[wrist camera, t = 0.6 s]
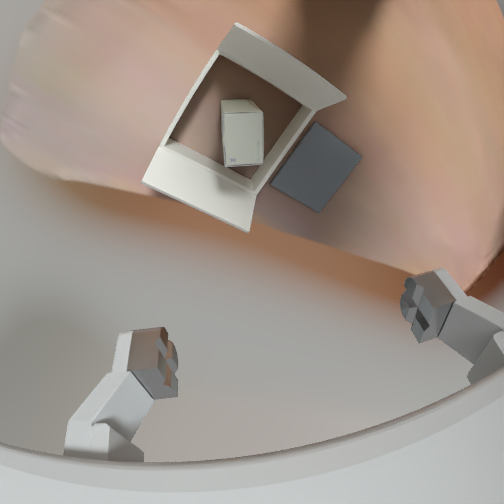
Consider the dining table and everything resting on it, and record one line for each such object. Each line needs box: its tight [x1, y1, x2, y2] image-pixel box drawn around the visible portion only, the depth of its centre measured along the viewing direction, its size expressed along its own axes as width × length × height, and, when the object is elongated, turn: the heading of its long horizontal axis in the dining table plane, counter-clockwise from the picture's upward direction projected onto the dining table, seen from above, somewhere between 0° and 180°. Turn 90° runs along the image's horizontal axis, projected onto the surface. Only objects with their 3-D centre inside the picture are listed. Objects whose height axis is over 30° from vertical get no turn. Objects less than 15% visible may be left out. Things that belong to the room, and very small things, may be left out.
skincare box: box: [221, 99, 264, 167], centre depth 36 cm, size 6×4×12 cm
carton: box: [141, 22, 347, 233], centre depth 37 cm, size 22×15×10 cm
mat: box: [270, 121, 362, 213], centre depth 47 cm, size 12×10×1 cm
